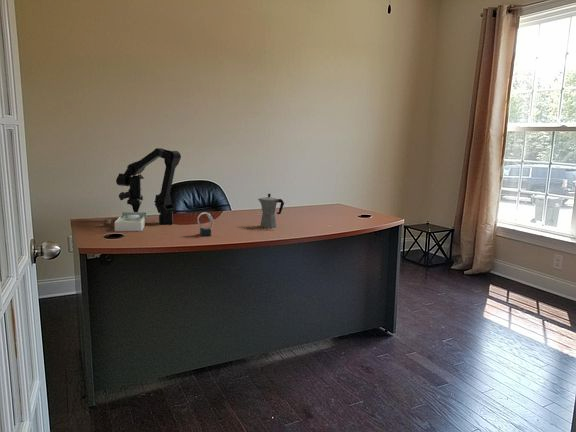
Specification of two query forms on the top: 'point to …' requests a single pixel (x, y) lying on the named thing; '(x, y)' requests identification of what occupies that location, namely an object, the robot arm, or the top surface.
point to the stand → (106, 222)
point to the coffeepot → (269, 211)
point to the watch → (207, 230)
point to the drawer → (125, 214)
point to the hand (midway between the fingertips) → (135, 215)
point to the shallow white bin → (129, 225)
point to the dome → (133, 217)
